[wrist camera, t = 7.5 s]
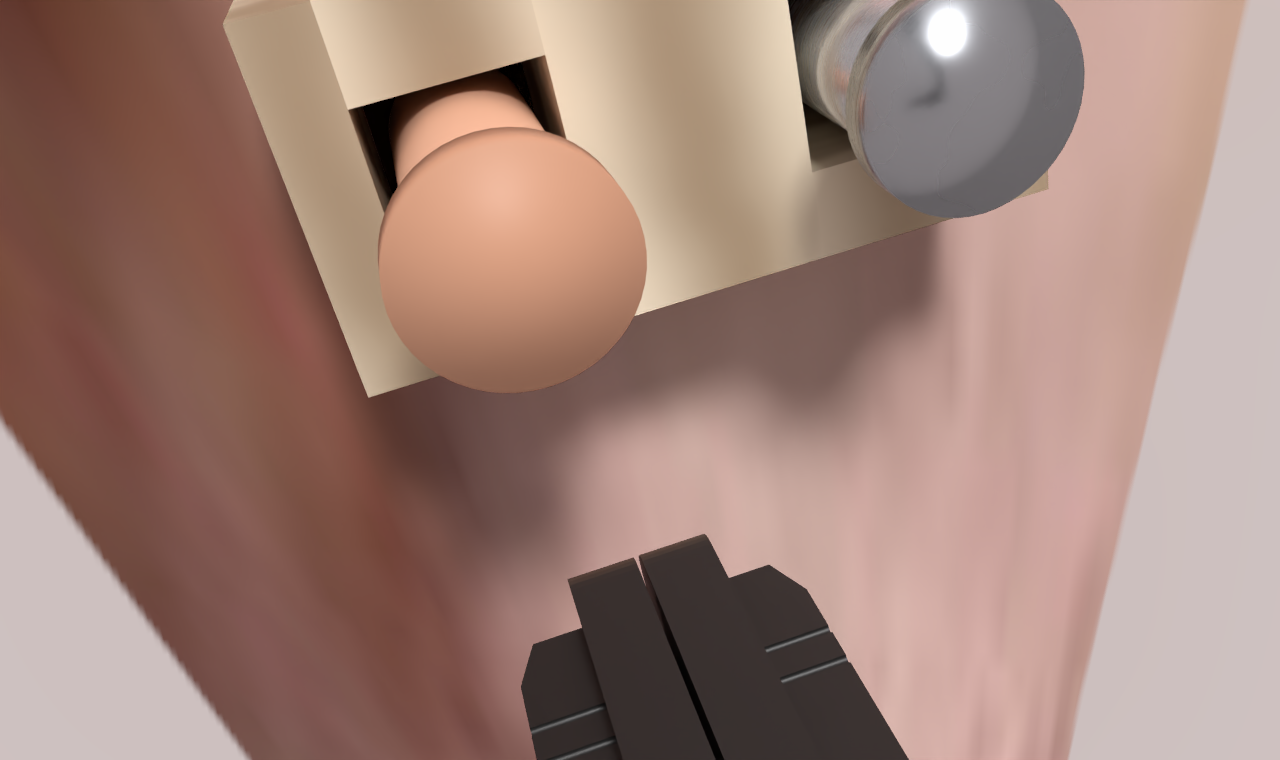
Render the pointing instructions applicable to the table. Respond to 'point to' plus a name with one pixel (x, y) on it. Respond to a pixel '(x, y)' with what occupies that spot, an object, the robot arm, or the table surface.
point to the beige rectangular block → (567, 134)
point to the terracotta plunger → (503, 241)
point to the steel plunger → (944, 92)
